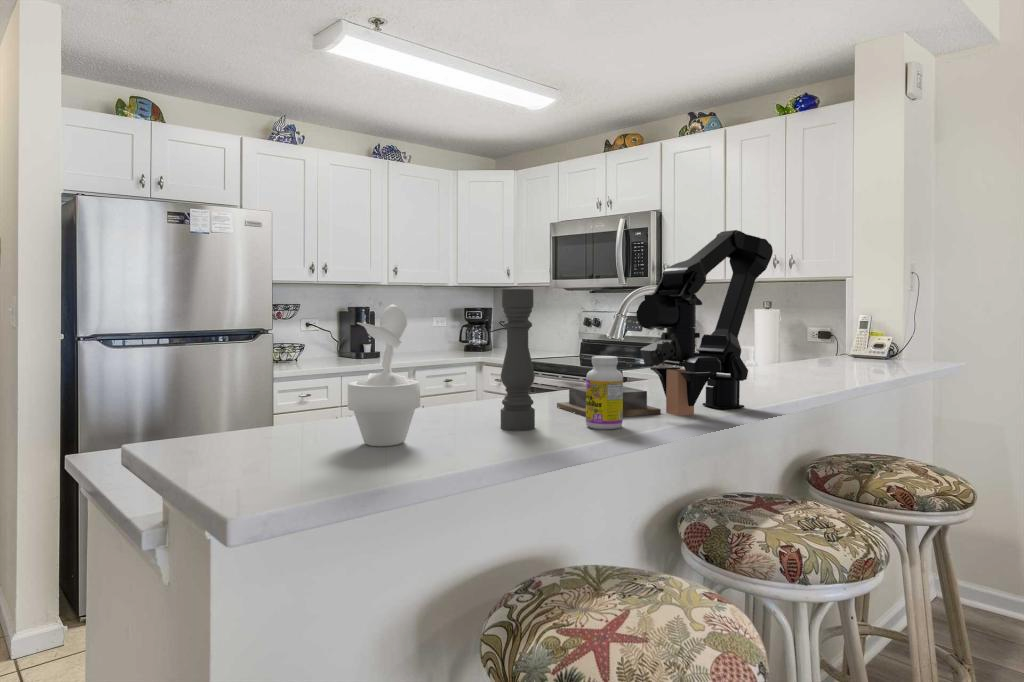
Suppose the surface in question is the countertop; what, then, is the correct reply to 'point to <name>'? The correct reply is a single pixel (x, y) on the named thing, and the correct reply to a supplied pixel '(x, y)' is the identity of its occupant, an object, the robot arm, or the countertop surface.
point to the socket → (631, 402)
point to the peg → (677, 393)
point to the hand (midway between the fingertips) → (680, 403)
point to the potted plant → (385, 388)
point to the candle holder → (517, 361)
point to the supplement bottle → (604, 394)
